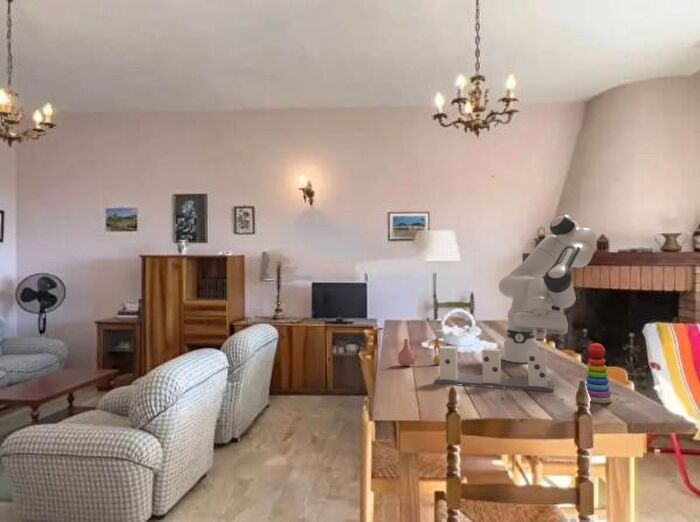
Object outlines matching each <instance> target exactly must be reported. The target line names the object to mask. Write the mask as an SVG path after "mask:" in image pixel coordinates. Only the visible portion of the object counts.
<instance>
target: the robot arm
mask: <svg viewBox="0 0 700 522" xmlns="http://www.w3.org/2000/svg"><path fill="white" fill-rule="evenodd" d="M549 230H550V232H551V234H549V235H547V236H546V237H545V238H543V239H542V240H541V241H540V242H539V243H538V244H537V245H536V246H535V247H534V249H533V250H532V251H531V252H530V253H529V255H528V256H527V257H526V258H525V260H524V261H522V262H521V263H520V264H519V266H517V267H516V268H514V269H513V270H512V271H511V272H510V273H509V274H508V275H506V276H505V277H503V278H501V279H500V281H499V284H498V289H499V291H500V293H501V294H502V295H503V296H505V297H506V298H508V299H512V302H511V307H509V308H510V309H509V310H508V312H507V329H506V336H507V337H506V339H505V341H503V355H501V360H502V361H506V362H511V363H523V364H528V351H529V350H534V351H540V350H539V343H538V342H537V341H540V342H544V341H545V337H546V336H547V334H555V335H566V334H567V333H568V332H569V331H568V330H569V324H568V319H567V316H566V315H565V314H564V310H565V309H568V308H570V307H572V306H573V305H574V304H575V302H576V300H577V297H576V293H575V292H576V291H575V288H574V285H573V279H572V274H571V269H572V268H578V269H579V268H583V267H586V266H587V265H588V264H589V263H590V262H591V260H592V258H593V256H594V253H595V250H596V244H597V235H596V233H595V231H593V230H592V229H590V228H587V227H581V225H580V224H579V223H578V222H577V221H576V220H574V218H572V217H571V216H570V215H568V214H559V215H558V216H556V217H555V218H554V219H553V220H551V222H550V224H549ZM538 333H540V334H538ZM541 333H542V334H541Z"/></svg>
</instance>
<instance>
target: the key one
mask: <svg viewBox="0 0 700 522" xmlns="http://www.w3.org/2000/svg"><path fill="white" fill-rule="evenodd" d="M445 346H446V345H445ZM445 346H440V348H439V350H440V353H439V355H440V365H439V376H440V379H441V380H454V381H456V380H457V379H458V375H459V362H458V361H459V360H458V359H459V358H458V357H459V355H458V346H446V347H445ZM439 350H438V351H439Z"/></svg>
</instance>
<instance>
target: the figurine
mask: <svg viewBox="0 0 700 522" xmlns="http://www.w3.org/2000/svg"><path fill="white" fill-rule="evenodd" d="M431 343H433V344H434V345H433V349H434V355H435V356H434V357H433V359H432V362H433V364H434V365H437V366H440V350H439V348H440V347H441V345H440V343H442V344H443V345H444V346H445V347H447V346H446V344H445V342H444V341H443V340H440V339H439V338H438V337H435V338H434V339H433V340H431V341H429V343H428V346H427V349H430V345H431ZM437 350H438V353H437Z"/></svg>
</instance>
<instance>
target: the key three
mask: <svg viewBox="0 0 700 522" xmlns="http://www.w3.org/2000/svg"><path fill="white" fill-rule="evenodd" d="M547 353H548V352H547V350H539V351H534V350H529V351H528V363H527V366H528V367H527V370H528V372H527V373H528V378H527V379H529V386H538V387H547V381H548V362H547V361H548V357H547Z"/></svg>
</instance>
